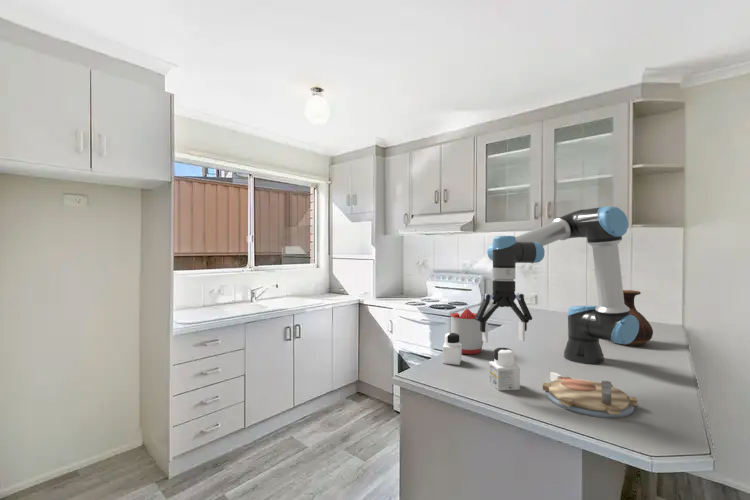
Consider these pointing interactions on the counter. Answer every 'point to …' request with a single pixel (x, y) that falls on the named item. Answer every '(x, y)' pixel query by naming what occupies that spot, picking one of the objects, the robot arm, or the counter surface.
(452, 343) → the medicine bottle
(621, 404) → the index wheel
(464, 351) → the citrus juicer
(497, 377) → the container
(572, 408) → the wheel base
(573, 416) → the counter surface
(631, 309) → the jug
